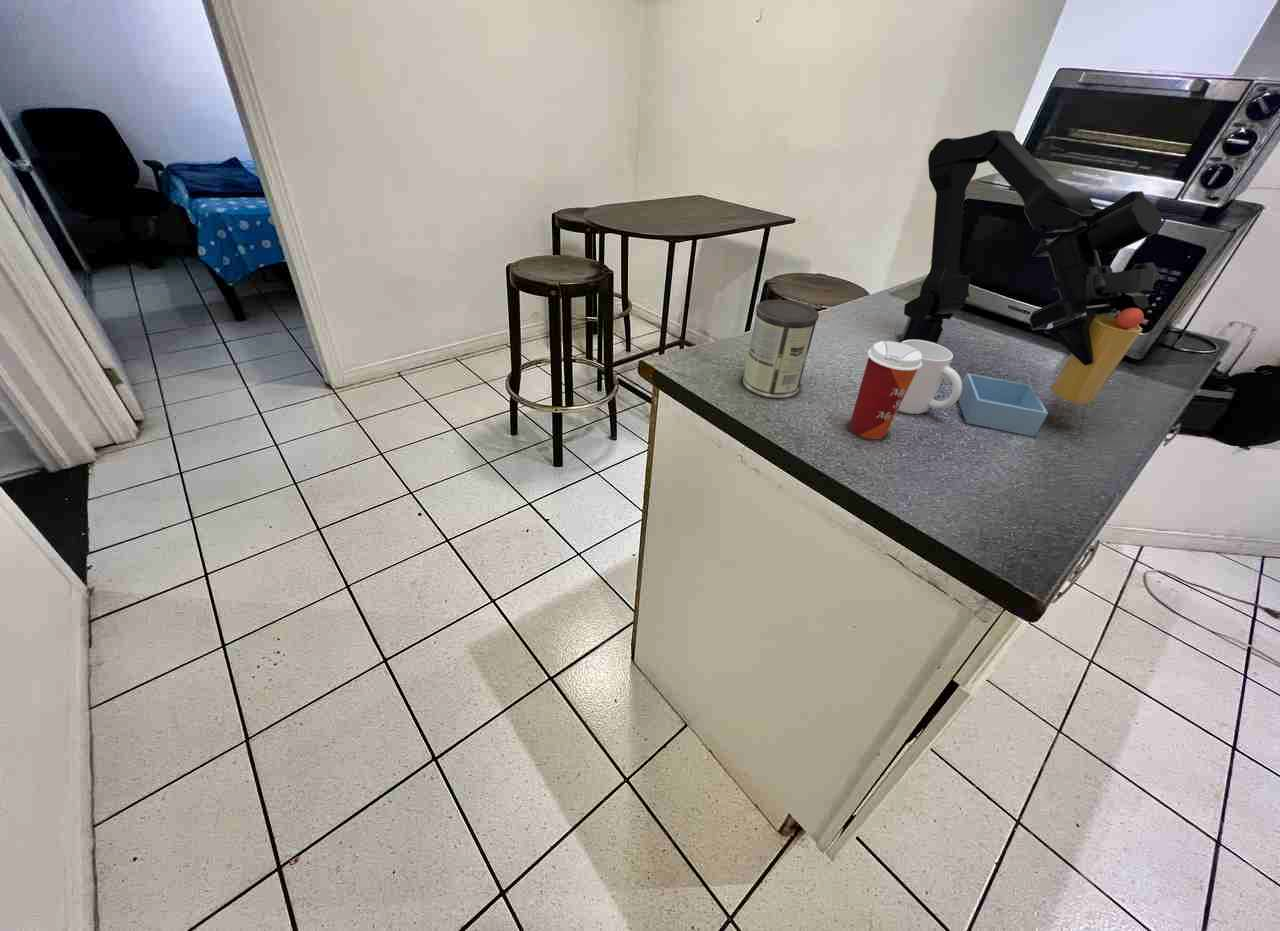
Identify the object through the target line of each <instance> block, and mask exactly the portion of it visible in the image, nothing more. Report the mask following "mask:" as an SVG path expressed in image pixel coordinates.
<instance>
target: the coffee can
mask: <svg viewBox="0 0 1280 931" xmlns="http://www.w3.org/2000/svg"><path fill="white" fill-rule="evenodd" d="M819 316H820V314H819V312H818V311H817V310H816V309H815V308H813V307H812V306H810V305H808V304H805V303H802V302H798V301H794V300H787V299H768V300H763V301H761V302H759V303H757V305H756V308H755V316H754V321H753V327H752V333H751V336H750V342H749V343H750V344H749V349H748V355H747V360H746V364H745V369H744V374H743V378H742V383H743V385H744V386H745V388H746V389H748V390H749V391H750V392H752V393H755V394H756V395H759V396H763V397H766V398H771V399H772V398H773V399H784V398H785V399H786V398H790V397H792V396H795V395H796V394H797V393H798V392H799V390H800V384H801V380H802V377H803V373H804V370H805V365H806V361H807V358H808V354H809V352H810V351H809V350H810V348H811V347H810V346H811V343H812V339H813V336H814V332H815V328H816V325H817V322H818V319H819Z"/></svg>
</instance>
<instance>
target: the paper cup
mask: <svg viewBox="0 0 1280 931" xmlns="http://www.w3.org/2000/svg"><path fill="white" fill-rule="evenodd" d="M867 356H868V358H867V362H866V365H865V369H864V372H863V375H862V378H861V379H862V380H861V383H860V387H859V390H858V393H857V397H856V401H855V404H854V408H853V412H852V416H851V419H850V423H849V428H850V430H851V431H852V432H853V433H854V434H855V435H857V436H859V437H862V438H864V439H867V440H881V439H882V438H884V436H886V434H887V432H888V430H889V428H890V426H891V424H892V422H893V421H894V419H895V416H896V415H897V412H898V411H897V410H898V408H899V406H900V404H901V402H902V400H903V398H904V396H905V394H906V392H907V390H908V388H909V386H910V384H911V382H912V380H913V378H914V376H915V374H916V372H917V370H918V369H919V368H921V366H922V361H921V359H922V354H921V353H920V352H919V351H918V350H917V349H915V348H913V347H911V346H909V345H906V344H902V343H901V342H897V341H891V340H890V341H889V340H883V341H882V340H881V341H877V342H875V343H874V344H873V346H872V347H871V348H870V349H869V350H868V351H867Z"/></svg>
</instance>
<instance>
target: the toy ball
mask: <svg viewBox="0 0 1280 931" xmlns="http://www.w3.org/2000/svg"><path fill="white" fill-rule="evenodd" d="M1144 318H1145V314H1144V312H1143V311H1142V310H1140V309H1138V308H1127V309H1125V310H1123V311H1121V312H1120V313H1119V314H1118V316H1117V319H1116V321H1117V324H1118V325H1119V326H1120V327H1122V328H1133V327H1136V326H1138V325H1139V326H1140V324H1141V323H1142V322H1143V321H1144Z"/></svg>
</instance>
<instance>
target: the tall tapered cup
mask: <svg viewBox="0 0 1280 931" xmlns="http://www.w3.org/2000/svg"><path fill="white" fill-rule="evenodd" d="M1116 319H1117V318H1116V317H1111V316H1099V315H1098V316H1095V318H1094V320H1093V322H1092V324H1091V325H1090V327H1089V333H1090V339H1091V345H1092V352H1093V363H1092V364H1090V365H1084V364H1083V363H1081V362H1080V361H1079V360H1078V359H1077V358H1076V357H1075V356H1074V355H1073V354H1072V353H1071V352H1070V355H1069V357H1068V358H1067V360H1066V361H1065V363H1064V364H1063V366H1062V368H1061V369H1060V371H1059V372H1058V374H1057V376H1056V378H1055V380H1054V381H1053V383H1052V384H1051V386H1050V388H1049V390H1050V391H1051V393H1052V394H1053V395H1055V396H1056V397H1058V398H1060V399H1063V400H1064V401H1067V402H1072V403H1074V404H1078V405H1079V404H1080V405H1090V404H1092V403H1094V402H1095V400H1096V398H1097V397H1098V396H1099V394H1100V392H1101V391H1102V390H1103V388H1104V386H1106V384H1107V382H1108V381H1109V379H1110V378H1111V376H1112V375H1113V373H1114V372H1115V370H1116V369H1117V368H1118V366H1119V365H1120V363H1121V362H1122V361H1123V359H1124V357H1125V356H1126V354H1127V353H1128V352H1129V350H1130V348H1131V347H1132V346H1133V344H1134V343H1135V341H1137V338H1138V337H1139V335H1140V334H1141V333H1142V331H1143V328H1142V327H1141V326H1140V324H1139V325H1138V326H1136V327H1133V328H1122V327H1120V326H1119V325H1118V324H1117V321H1116Z"/></svg>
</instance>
